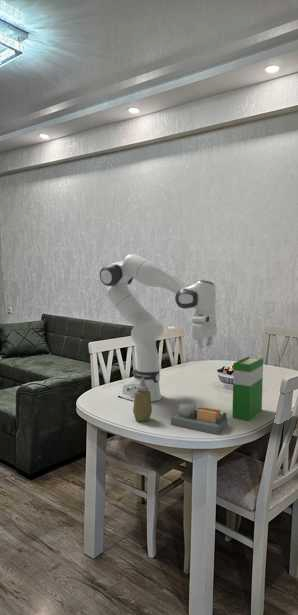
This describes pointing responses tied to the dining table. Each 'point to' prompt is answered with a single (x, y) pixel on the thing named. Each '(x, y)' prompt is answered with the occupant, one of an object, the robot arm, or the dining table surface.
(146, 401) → the squeeze bottle
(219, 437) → the dining table surface
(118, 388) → the dining table surface
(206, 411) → the chute
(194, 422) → the panel with grey ball
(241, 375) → the hardback book
